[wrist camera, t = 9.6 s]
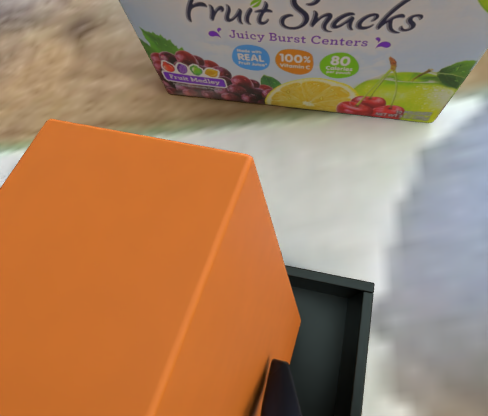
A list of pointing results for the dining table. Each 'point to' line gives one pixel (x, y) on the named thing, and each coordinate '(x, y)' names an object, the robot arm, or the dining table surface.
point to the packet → (137, 279)
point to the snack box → (316, 51)
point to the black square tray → (330, 342)
